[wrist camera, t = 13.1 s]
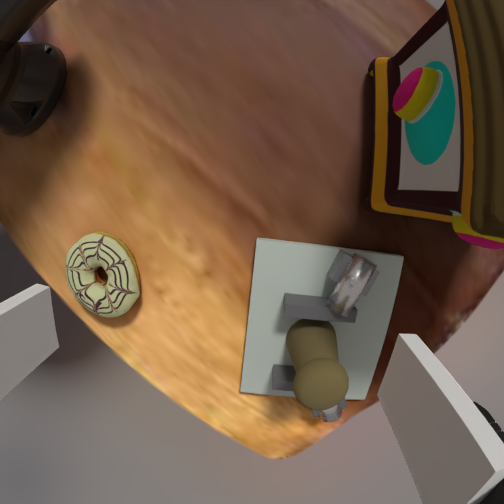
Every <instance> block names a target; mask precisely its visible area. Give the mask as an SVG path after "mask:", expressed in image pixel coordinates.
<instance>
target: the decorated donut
mask: <svg viewBox="0 0 504 504" xmlns="http://www.w3.org/2000/svg"><path fill="white" fill-rule="evenodd" d="M99 267H103V268H104V270H105V272H106V273H107V275H108V282H107V284H106V283H105V282H103V281H102V280H101V279H100V277H99V276H98V268H99ZM66 275H67V282H68V286H69V288H70V290H71V291H72V293H73V294H74V296H75V298H76V299H77V300H78V301H79V302H80V303H81V304H82V305H84V307H86V308H87V309H88V310H89V311H91V312H92V313H94V314H96V315H99V316H102V317H106V318H112V317H118V316H120V315H122V314H124V313H126V312H127V311H128V310H129V309H130V308H131V306H133V304H134V303H135V302H136V301H137V299H138V297H139V295H140V291H141V285H140V276H139V270H138V266H137V263H136V260H135V257H134V255H133V254H132V253H131V251H130V249H129V248H128V247H127V245H125V244H124V243H123V242H122V241H121V240H120V239H118V238H116V237H115V236H112V235H110V234H108V233H105V232H93V233H90V234H87V235H85V236H84V237H83V238H81V239H80V240H79V241H78V242H77V243H76V244H74V245H73V246H72V247H71V249H70V250H69V252H68V254H67V258H66Z"/></svg>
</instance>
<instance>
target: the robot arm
mask: <svg viewBox="0 0 504 504" xmlns="http://www.w3.org/2000/svg"><path fill="white" fill-rule="evenodd" d="M55 1H56V0H0V131H1V132H2V133H4V134H6V135H11V136H19V137H20V136H25V135H28V134H30V133H32V132H33V131H35V130H36V129H37V128H38V127H39V126H41V125H42V123H43V122H44V121H45V120H46V119H47V117H48V116H49V115H50V113H51V112H52V110H53V108H54V107H55V105H56V103H57V101H58V99H59V97H60V94H61V92H62V89H63V85H64V82H65V76H66V60H65V57H64V54H63V53H62V51H61V50H60V49H58V48H57V47H55V46H53V45H51V44H49V43H45V42H18V41H19V40H20V38H21V37H22V36H23V35H24V34H25V33H26V31H27V30H28V29H29V28H30V27H31V26H32V25H33V24H34V22H35V21H36V20H37V19H38V18H39V17H40V16H41V15H42V14H43V13H44V12H45V11H46V10H47V9H48V8H49V7H50V6H51V5H52V4H53V3H54V2H55ZM57 348H59V345H58V340H57V334H56V329H55V323H54V316H53V310H52V302H51V294H50V287H48V286H43V285H40V284H35V285H33V286H31V287H30V288H28V289H26V290H24V291H22V292H20V293H18V294H16V295H15V296H13V297H11V298H9V299H7V300H5V301H3V302H2V303H0V401H1V400H2V399H3V398H4V397H5V396H6V395H7V394H8V393H9V392H10V391H11V390H12V389H13V388H14V387H16V386H17V385H18V384H19V383H20V382H21V381H22V380H23V379H24V378H25V377H26V376H27V375H28V374H30V373H31V372H32V371H33V370H34V369H35V368H36V367H37V366H38V365H39V364H41V363H42V362H43V361H44V360H45V359H46V358H47V357H48V356H50V355H51V354H52V353H53V352H54V351H55V350H56V349H57ZM377 396H378V398H379V400H380V402H381V404H382V407H383V409H384V411H385V413H386V416H387V418H388V420H389V422H390V424H391V427H392V429H393V432H394V434H395V436H396V439H397V441H398V443H399V446H400V448H401V450H402V453H403V455H404V457H405V460H406V462H407V465H408V467H409V470H410V472H411V475H412V477H413V480H414V482H415V485H416V487H417V490H418V493H419V495H420V498H421V500H422V503H423V504H504V432H503V431H502V432H501V428H500V427H499V425H498V424H497V423H495V420H494V419H493V418H492V416H491V415H490V414H489V412H488V411H487V410H486V409H484V408H483V407H482V406H480V405H479V404H478V403H476V402H472V401H471V399H470V398H469V397H468V395H467V394H466V393H465V392H464V390H463V389H462V388H461V387H460V385H459V384H458V383H457V382H456V381H455V379H454V378H453V377H452V376H451V374H450V373H449V372H448V371H447V370H446V368H445V367H444V366H443V365H442V364H441V362H440V361H439V360H438V359H437V358H436V357H435V355H434V354H433V353H432V352H431V351H430V349H429V348H428V347H427V346H426V345H425V344H424V342H423V341H422V340H421V339H420V338H419V337H418V336H417V334H398V337H397V340H396V343H395V347H394V350H393V353H392V355H391V358H390V361H389V364H388V367H387V370H386V372H385V375H384V378H383V380H382V383H381V386H380V388H379V391H378V393H377Z"/></svg>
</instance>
